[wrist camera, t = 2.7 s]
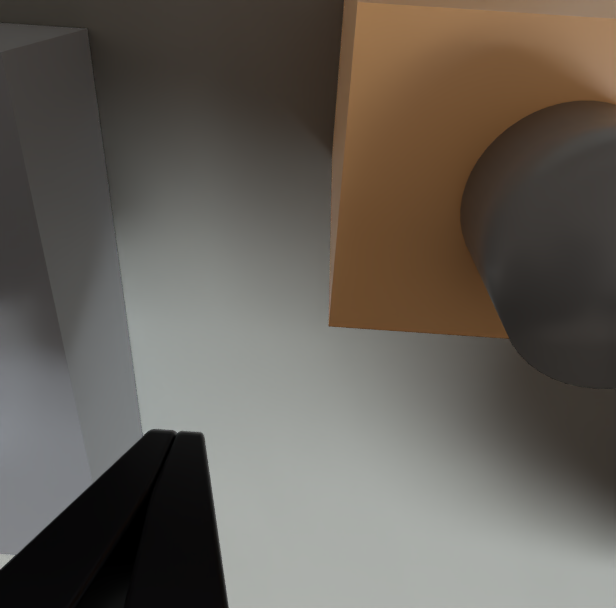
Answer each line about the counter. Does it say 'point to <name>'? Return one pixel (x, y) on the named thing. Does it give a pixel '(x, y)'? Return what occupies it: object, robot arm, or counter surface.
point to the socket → (56, 286)
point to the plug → (479, 176)
